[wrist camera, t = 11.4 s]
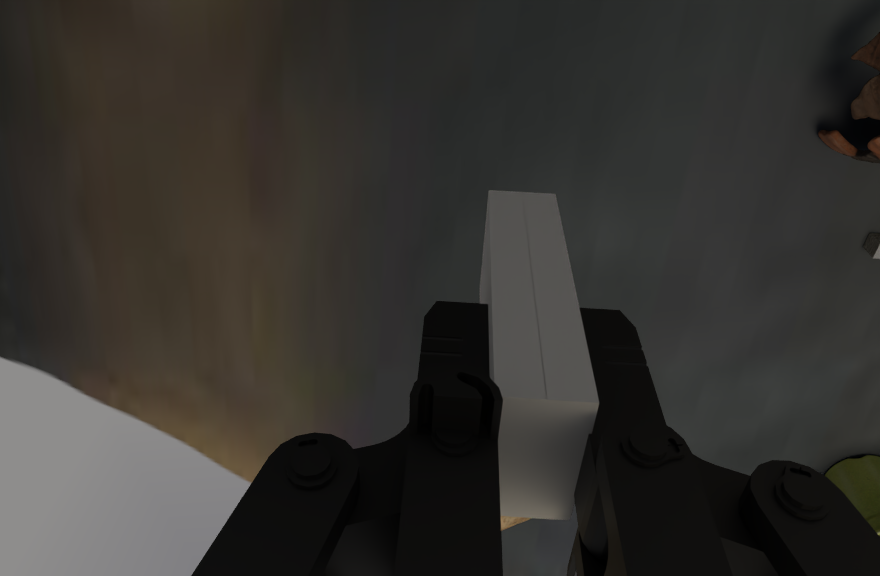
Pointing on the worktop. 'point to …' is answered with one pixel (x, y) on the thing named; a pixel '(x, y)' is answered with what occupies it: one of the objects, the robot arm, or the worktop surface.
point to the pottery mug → (862, 108)
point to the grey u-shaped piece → (873, 245)
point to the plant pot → (860, 485)
